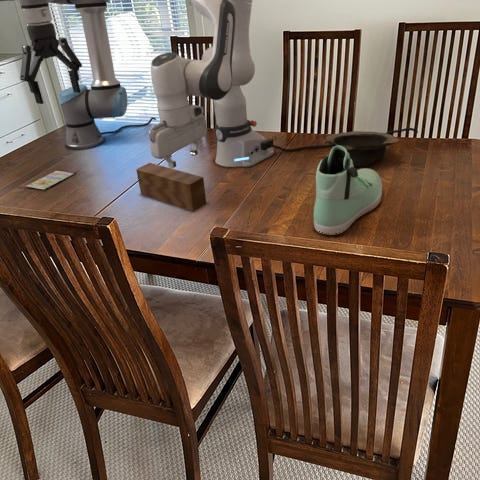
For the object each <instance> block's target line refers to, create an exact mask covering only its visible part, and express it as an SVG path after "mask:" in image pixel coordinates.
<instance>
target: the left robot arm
mask: <svg viewBox="0 0 480 480" xmlns="http://www.w3.org/2000/svg"><path fill="white" fill-rule="evenodd" d="M13 1H14V0H0V2H13ZM110 1H111V0H18V2H19V4H20V9H21V13H22V16H23V20H24V23H25V24H26V25H27V26H26V30H27V34H28V37H29V40H30V42H31V45H28V44H27V45H26V44H22V45H21V50H22V58H21V67H20V73H19V74H20V75H19V79H20V81H22V82H27V85H28V87H29V91H30V93H31V94H33V96H34V98H35V103H36V104H40V105H43V104H44V100H43V95H42V92H41V89H40V86H39V82H38V81H37V80H36V78H37V75H38V74H39V73H38V72H39V71H40V67H41V64H42V62H43V61H44V59H49V58H54V57H56V58H57V59H58V60H59V61H60V62H61V63H63V64H64V65H65V66H66V67H67V68H68V69H69V70H68V75H69V78H70V79H69V80H70V82H71V86H70V87H67V88H65V89H63V90H61V91H60V92H59V93H58V99H59V105H60V108H61V113H62V116H63V119H64V123H65V126H66V133H65V144H66V148H68V149H70V150H85V149H92V148H94V147H97V146H99V145H102V143H104V135H109V134H111V135H112V134H117V133H119V132H120V131H121V130H123V129H125V128H135V127H137V128H138V127H139V128H141V127H146V126H148V125H150V124H151V122H152V121H153V120H154V121H157V118H156V117H150V119H149V120H148V122H146V123H142V124H126V125H123V126H120V127H119V128H117V129H116V130H112V131H111V130H110V131H104V132H103V131H102V132H101V130H100V129H99V127H98V125H97V124H96V121H95V120H96V119H111V118H112V119H115V118H121V117H124V116H125V115H126V112H127V109H128V93H127V89H126V88H125V87H124V86H121V81H119V80H118V79H117V77H116V74H115V68H114V61H113V55H112V50H111V46H110V45H111V44H110V38H109V33H108V28H107V27H108V26H107V22H106V15H105V12H106V10H107V9H108V3H109V2H110ZM49 3H50V4H56V5H57V4H58V5H74V9H75V10H76V11H77V12H78V13H79V14H80V16H81V22H82V27H83V33H84V37H85V43H86V48H87V54H88V59H89V64H90V70H91V74H92V82H91V84H90V88H88V86H87V85H86V84H79V81H80V75H79V71H80V68H82V67H83V63H82V62H81V61H80V59H79V58H78V57H77V55H76V54H75V52H74V51H73V50H72V47H70V45H69V42H68V39H67V37H59V38H57V32H56V28H55V25H54V23H53V22H52V21H53V16H52V12H51V8H50V5H49ZM59 47H60V48H61V49H62V51H63V52H64V53H63V52H62V51H61V50H60V49H59ZM33 52H34V54H33V56H32V53H33Z"/></svg>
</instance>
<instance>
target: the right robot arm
mask: <svg viewBox="0 0 480 480" xmlns="http://www.w3.org/2000/svg"><path fill="white" fill-rule="evenodd" d="M190 3H191V5H192V6H193V8H194V10H195V11H196V12H198V14H200V15H201V16H202V17H204V18H206V19H207V20H209V21H211V22H212V24H213V38H212V40H213V41H212V46H210V47H208V48H206V50H205V51H204V52H203V54H202V56H201V60H200V59H191V58H185V57H182V56H180V55H179V54H177V53H176V52H171V51H170V52H164V53H161V54H159V55H157V56H155V57H154V58H153V59H152V61H151V64H150V77H151V83H152V89H153V93H154V94H155V97H156V101H157V102H156V103H157V104H156V107H157V113H158V116H159V121H160V122H158V123H157V124H154V125H152V126H151V128H150V129H149V132H148V136H149V146H150V147H149V148H150V154H151V156H152V157H153V158H155V159H157V160H165V161H166V162H167V165H168V168H171V169H175V168H176V167H177V161H176V160H173V159H172V157H173V154H174V153H177V152H178V151H180V150H182V149H184V148H186V147H187V146H189V145H191V149H189V152H190V155H191V156H192V157H195V156H197V155H199V151H198V149H199V146H200V140H201V139H202V138H205V137H206V136H207V133H208V126H207V120H206V117H205V115H204V113H205V112H204V106H202V105H197V104H190V103H189V102H190V101H189V98H188V97H190V96H193V97H201V98H205V99H210V100H212V101H213V106H214V115H215V123H214V128H215V129H214V130H215V137H216V154H215V160H214V161H215V164H217V165H218V166H221V167H228V168H236V167H237V168H238V167H246V168H248V167H249V168H250V167H252V166H254V165H256V164H258V163H260V162H261V161H264V160H265V159H268V158H269V157H271V156H273V155H275V152H274V150H273V148H274V149H277V150H280V151H282V152H297V151H301V150H308V149H322V148H323V149H324V148H333V147H334V145H331V144H317V145H303V146H299V147H294V148H284V147H282V146H278V145H276V144H274V139H273V138H267V139H266V137H265V136H263V135H262V134H261V133H258V131H255V130H254V129H253V128H255V127H257V124H258V122H257V121H256V120H252V119H251V120H249V119H248V115H247V100H246V96H245V94H244V93H243V91H242V88H241V87H242V86H245V85H248V84H249V83H250V82H251V81H252V80H253V78H254V76H255V73H256V72H255V71H256V66H255V63H254V60H253V58H252V53H251V46H250V23H251V15H252V8H253V7H252V6H253V5H252V4H253V0H190ZM252 127H253V128H252ZM407 131H412V132H414V133H415V134H416V133H417V134H418V133H419V131H418V130H417V129H415V128H414V127H405V128H402V129H395V130H391V131H387V132H384V133H385V134H389V135H392V134H397V133H402V132H407Z"/></svg>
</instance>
